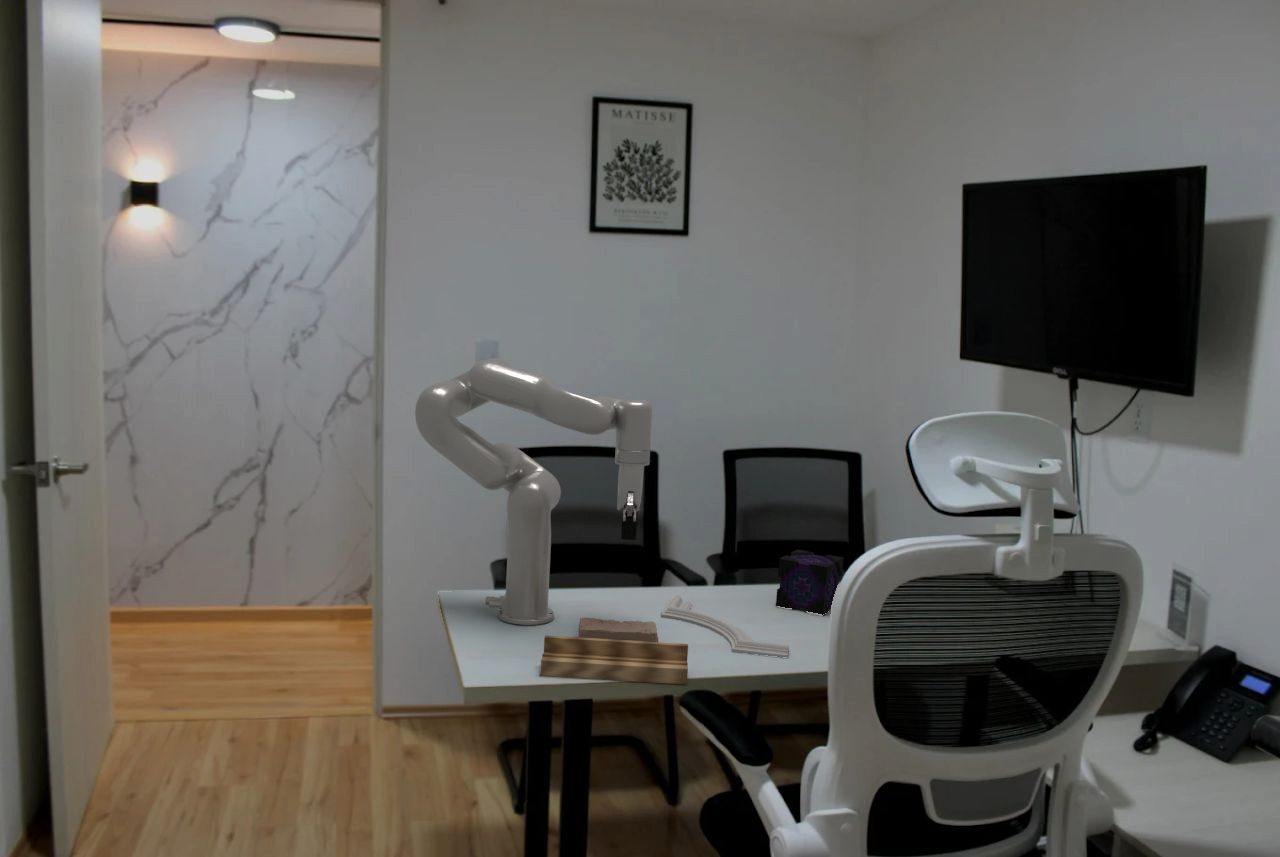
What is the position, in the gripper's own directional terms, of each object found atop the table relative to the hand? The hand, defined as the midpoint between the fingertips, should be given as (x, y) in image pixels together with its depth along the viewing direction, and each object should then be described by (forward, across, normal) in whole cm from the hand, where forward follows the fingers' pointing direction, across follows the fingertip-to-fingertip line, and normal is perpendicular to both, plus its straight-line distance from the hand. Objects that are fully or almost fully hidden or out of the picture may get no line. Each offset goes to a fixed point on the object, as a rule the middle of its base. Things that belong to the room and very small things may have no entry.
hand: (628, 534), depth 243 cm
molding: (+22, -3, +22) cm, 31 cm away
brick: (+21, +11, -1) cm, 24 cm away
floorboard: (+21, +28, -1) cm, 35 cm away
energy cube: (+22, -25, +44) cm, 55 cm away
